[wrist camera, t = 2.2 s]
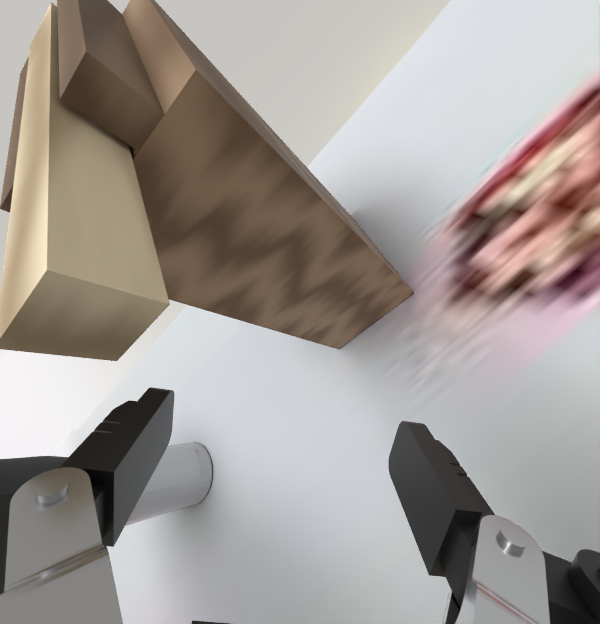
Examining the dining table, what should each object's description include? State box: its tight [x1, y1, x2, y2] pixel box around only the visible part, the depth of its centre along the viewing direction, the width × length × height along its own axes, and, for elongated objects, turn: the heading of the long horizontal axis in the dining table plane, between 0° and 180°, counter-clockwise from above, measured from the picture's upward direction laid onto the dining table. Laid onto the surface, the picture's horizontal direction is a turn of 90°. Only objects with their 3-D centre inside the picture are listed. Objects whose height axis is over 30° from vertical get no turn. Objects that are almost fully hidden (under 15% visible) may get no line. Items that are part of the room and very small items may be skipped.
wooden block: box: [0, 3, 170, 361], centre depth 15 cm, size 3×24×3 cm, turn 31°
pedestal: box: [0, 0, 414, 349], centre depth 30 cm, size 12×16×35 cm
